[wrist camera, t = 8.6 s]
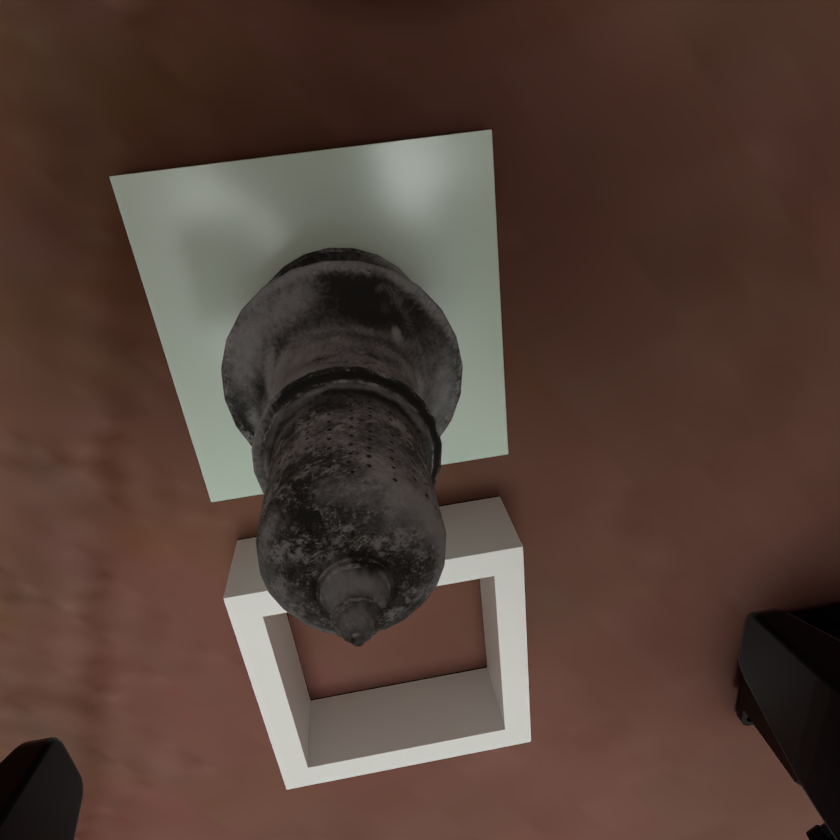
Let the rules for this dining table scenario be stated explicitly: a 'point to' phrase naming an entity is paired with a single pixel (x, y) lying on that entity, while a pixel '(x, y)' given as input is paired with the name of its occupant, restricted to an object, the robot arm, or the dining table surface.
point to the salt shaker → (345, 436)
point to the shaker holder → (403, 703)
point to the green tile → (307, 232)
